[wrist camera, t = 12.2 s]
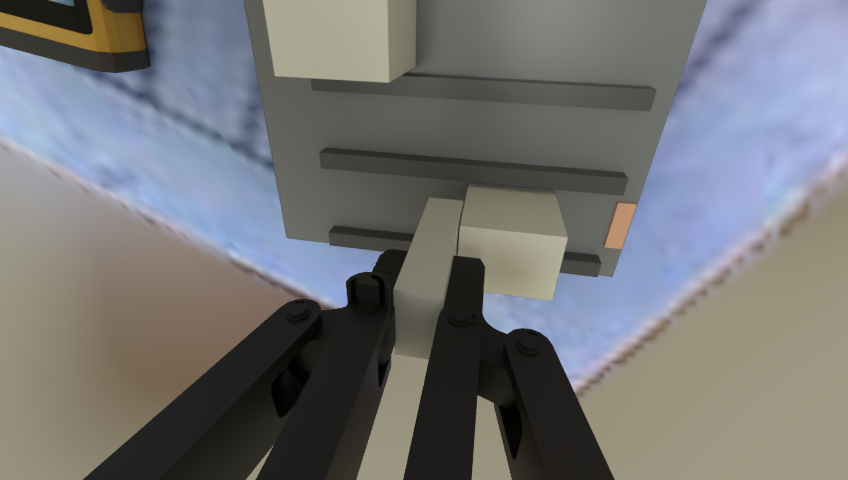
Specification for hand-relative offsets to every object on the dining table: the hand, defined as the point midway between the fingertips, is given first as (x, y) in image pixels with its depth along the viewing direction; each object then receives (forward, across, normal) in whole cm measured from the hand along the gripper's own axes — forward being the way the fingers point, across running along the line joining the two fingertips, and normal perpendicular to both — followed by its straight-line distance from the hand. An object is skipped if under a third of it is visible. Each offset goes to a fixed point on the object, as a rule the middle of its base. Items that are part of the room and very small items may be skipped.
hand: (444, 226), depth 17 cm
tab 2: (+2, +3, 0) cm, 4 cm away
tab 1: (+2, -4, +8) cm, 9 cm away
